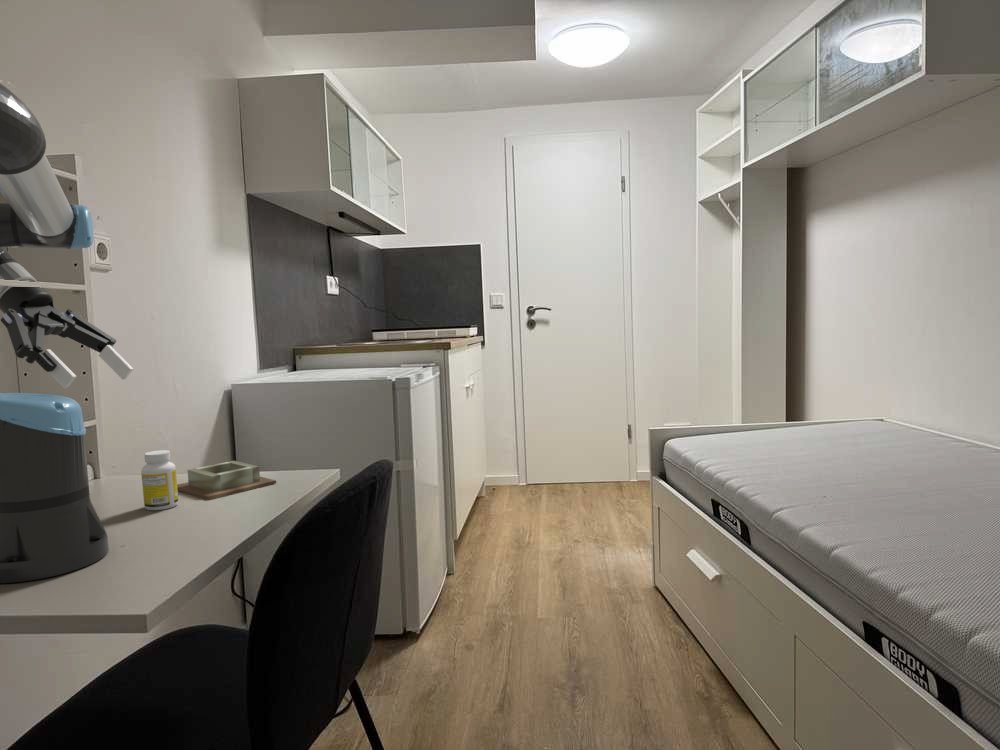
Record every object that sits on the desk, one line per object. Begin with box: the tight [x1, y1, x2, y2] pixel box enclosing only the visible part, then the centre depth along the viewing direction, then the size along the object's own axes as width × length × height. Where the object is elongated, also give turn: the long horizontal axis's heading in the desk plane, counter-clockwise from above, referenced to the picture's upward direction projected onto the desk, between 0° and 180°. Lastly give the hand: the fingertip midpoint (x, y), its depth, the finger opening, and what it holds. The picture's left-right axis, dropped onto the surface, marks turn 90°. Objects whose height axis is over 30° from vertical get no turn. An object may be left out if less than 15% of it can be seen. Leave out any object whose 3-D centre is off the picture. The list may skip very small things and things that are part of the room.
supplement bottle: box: [140, 449, 179, 511], centre depth 116 cm, size 5×5×10 cm
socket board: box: [177, 460, 277, 501], centre depth 129 cm, size 14×14×4 cm
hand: (101, 378), depth 116 cm, fingers open, 13 cm apart
